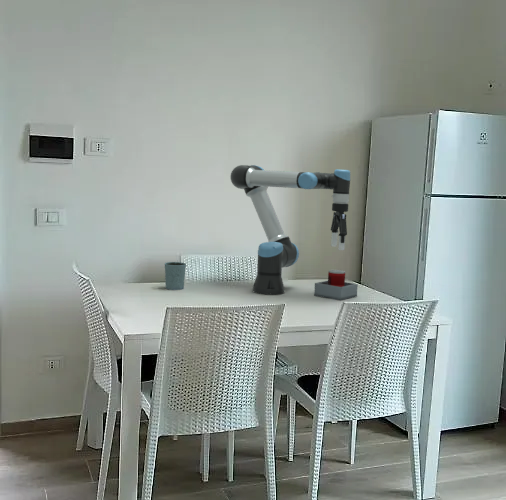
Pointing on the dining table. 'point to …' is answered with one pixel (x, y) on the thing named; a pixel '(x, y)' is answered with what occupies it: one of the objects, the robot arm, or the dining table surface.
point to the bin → (335, 290)
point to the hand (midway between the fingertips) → (337, 248)
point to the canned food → (336, 278)
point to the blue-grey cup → (175, 275)
